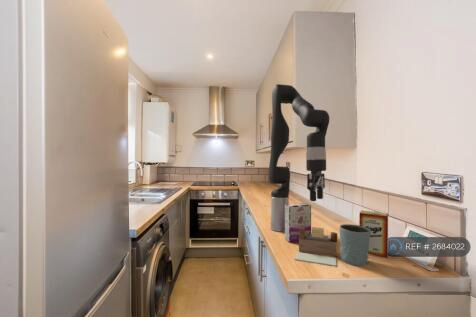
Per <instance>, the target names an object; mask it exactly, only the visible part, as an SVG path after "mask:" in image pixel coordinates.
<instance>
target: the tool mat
mask: <svg viewBox="0 0 476 317" xmlns="http://www.w3.org/2000/svg"><path fill="white" fill-rule="evenodd" d="M294 261H300V262H306V263H312V264H318V265H326V266H333V267H337V257H334V256H327V255H320V254H313V253H306V252H299V251H296V254H295V257H294Z"/></svg>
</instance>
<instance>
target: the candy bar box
mask: <svg viewBox="0 0 476 317" xmlns="http://www.w3.org/2000/svg"><path fill="white" fill-rule="evenodd" d="M301 225H302V226H305V235H308V234H312V204H310V203H306V202H303V203H300V202H299V203H289V204H285V231H284V240H285V239H286V240H285V241H287V242H288V241H289V242H288V243H290V242H291V243H299V237H300V227H301Z"/></svg>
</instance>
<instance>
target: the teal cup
mask: <svg viewBox="0 0 476 317" xmlns="http://www.w3.org/2000/svg"><path fill="white" fill-rule="evenodd" d="M370 233H371V231H370V229H368V228H366V227H363V226H359V225H357V224H340V226H339V238H340V259H341V261H342V262H343V263H344V264H347V265H352V266H355V267H364V266H367V264H368V260H369V259H368V258H369V254H368V249H369V239H370Z"/></svg>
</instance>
